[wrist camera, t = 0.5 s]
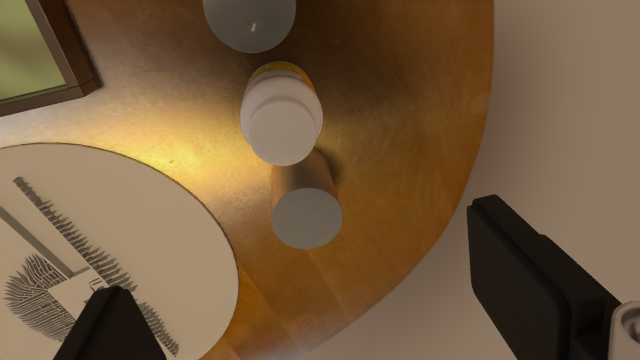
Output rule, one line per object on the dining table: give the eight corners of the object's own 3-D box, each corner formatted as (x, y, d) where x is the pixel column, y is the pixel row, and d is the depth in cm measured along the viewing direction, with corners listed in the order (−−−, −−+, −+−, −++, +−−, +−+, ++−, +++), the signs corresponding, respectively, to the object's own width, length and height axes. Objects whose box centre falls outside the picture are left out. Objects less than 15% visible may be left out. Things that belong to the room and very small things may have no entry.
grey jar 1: (210, -30, 28) (188, -36, 21) (280, -47, 28) (283, -59, 21) (232, 44, 30) (219, 62, 23) (297, 28, 30) (305, 41, 23)
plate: (285, 326, 43) (286, 335, 42) (58, 417, 45) (52, 428, 44) (128, 84, 30) (123, 88, 29) (-174, 227, 33) (-190, 235, 32)
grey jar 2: (264, 153, 34) (262, 197, 27) (322, 139, 34) (335, 180, 27) (279, 203, 36) (281, 256, 29) (333, 190, 36) (348, 240, 29)
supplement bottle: (310, 129, 33) (323, 179, 25) (244, 124, 33) (234, 174, 24) (317, 63, 31) (334, 93, 22) (246, 56, 30) (236, 84, 22)
